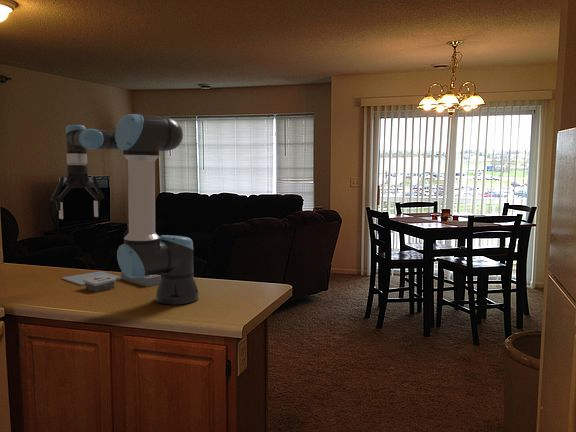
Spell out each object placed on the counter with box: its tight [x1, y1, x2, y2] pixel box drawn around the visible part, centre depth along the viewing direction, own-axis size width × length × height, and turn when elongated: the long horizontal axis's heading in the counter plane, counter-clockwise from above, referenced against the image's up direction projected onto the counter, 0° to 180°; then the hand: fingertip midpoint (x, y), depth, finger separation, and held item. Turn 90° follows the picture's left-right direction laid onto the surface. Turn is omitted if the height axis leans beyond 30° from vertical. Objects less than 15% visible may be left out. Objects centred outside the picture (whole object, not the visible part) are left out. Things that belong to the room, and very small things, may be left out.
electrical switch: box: [83, 275, 117, 293], centre depth 198 cm, size 9×5×9 cm
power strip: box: [120, 270, 161, 288], centre depth 210 cm, size 20×6×4 cm, turn 47°
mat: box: [61, 270, 122, 287], centre depth 216 cm, size 18×18×1 cm
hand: (79, 217), depth 203 cm, fingers open, 13 cm apart
